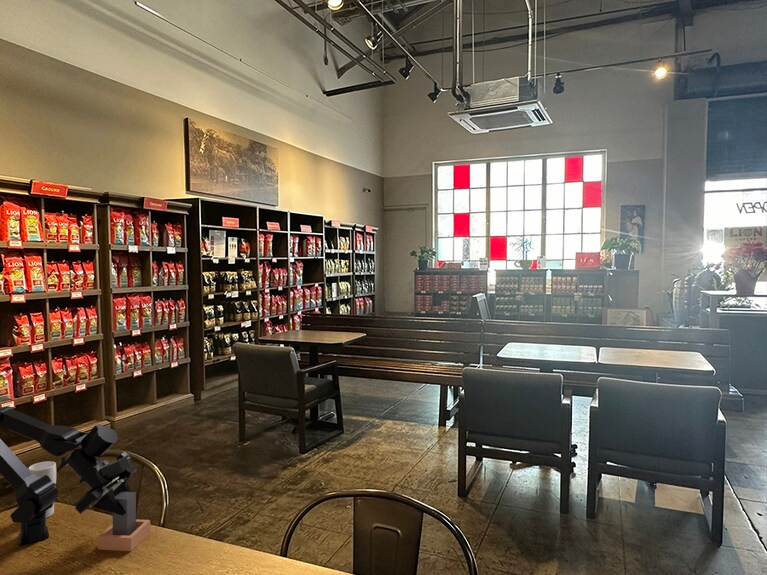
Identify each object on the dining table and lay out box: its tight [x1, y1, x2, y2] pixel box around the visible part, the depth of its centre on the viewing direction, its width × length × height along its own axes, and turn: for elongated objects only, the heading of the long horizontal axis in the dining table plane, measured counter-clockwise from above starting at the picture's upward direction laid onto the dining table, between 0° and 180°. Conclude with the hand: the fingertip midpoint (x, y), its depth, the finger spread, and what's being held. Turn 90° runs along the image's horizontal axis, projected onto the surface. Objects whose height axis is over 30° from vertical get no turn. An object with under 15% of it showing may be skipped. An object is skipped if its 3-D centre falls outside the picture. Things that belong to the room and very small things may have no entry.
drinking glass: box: [27, 460, 57, 519], centre depth 143 cm, size 7×7×15 cm
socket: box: [97, 518, 151, 552], centre depth 131 cm, size 9×9×4 cm
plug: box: [112, 491, 137, 536], centre depth 131 cm, size 4×4×11 cm
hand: (129, 510), depth 131 cm, fingers closed on plug, 4 cm apart
